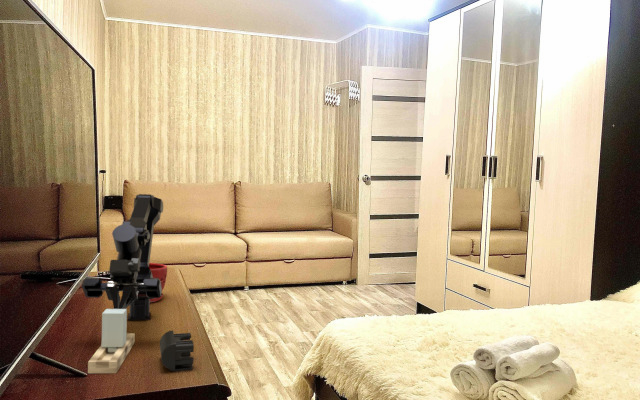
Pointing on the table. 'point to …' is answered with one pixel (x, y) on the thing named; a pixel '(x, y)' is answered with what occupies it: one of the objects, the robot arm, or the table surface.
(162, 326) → the table surface
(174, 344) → the end cap
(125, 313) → the block
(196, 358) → the table surface
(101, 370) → the beam
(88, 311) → the table surface
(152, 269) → the plant pot
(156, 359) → the table surface
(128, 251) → the robot arm
